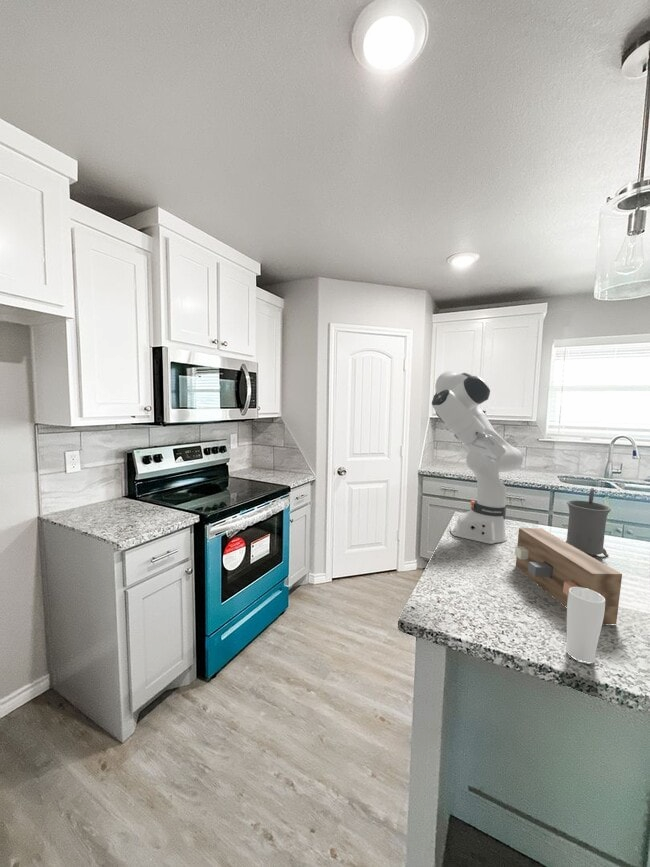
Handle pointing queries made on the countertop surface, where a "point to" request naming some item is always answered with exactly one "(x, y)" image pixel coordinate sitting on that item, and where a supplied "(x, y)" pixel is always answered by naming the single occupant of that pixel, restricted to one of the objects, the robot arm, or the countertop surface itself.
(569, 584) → the terracotta key
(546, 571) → the charcoal key
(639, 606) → the countertop surface
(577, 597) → the drinking glass
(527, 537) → the console
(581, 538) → the grey footed pot
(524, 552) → the cream key
